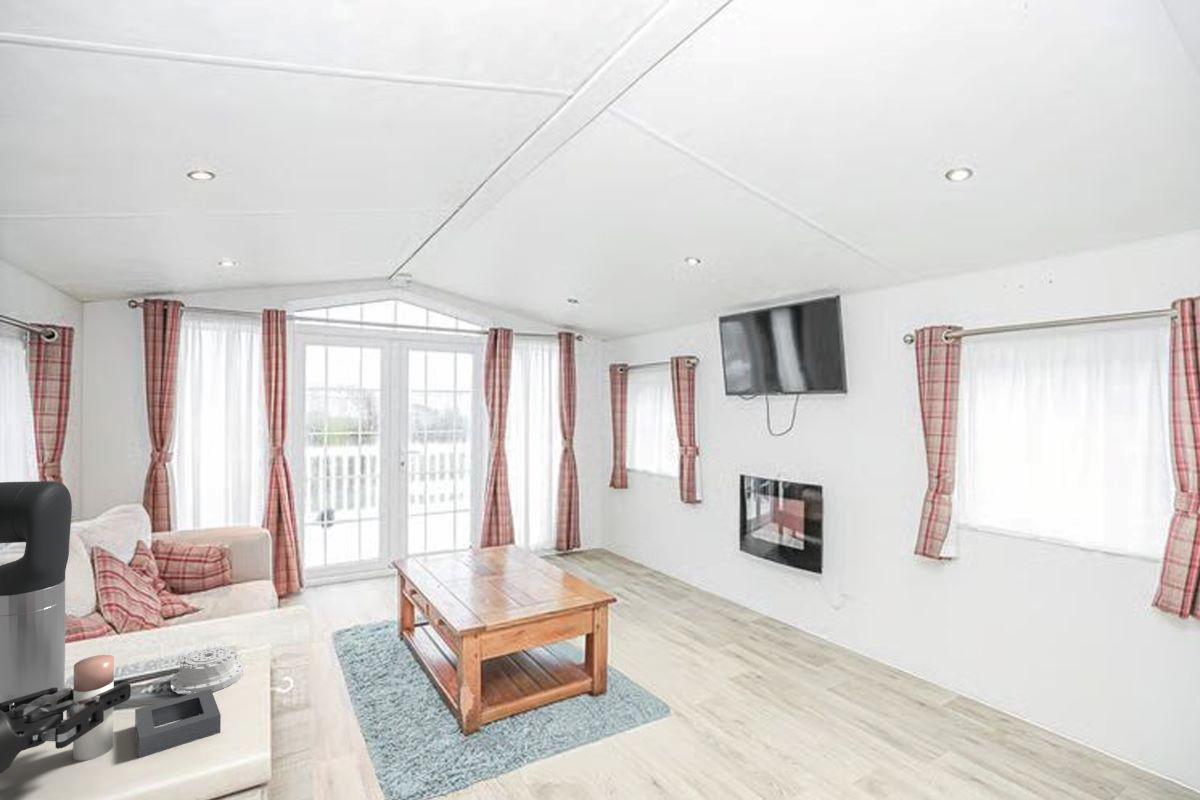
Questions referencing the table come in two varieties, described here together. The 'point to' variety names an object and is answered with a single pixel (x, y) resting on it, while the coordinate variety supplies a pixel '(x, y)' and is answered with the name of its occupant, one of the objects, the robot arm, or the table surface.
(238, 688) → the table surface
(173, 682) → the mechanical component
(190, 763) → the table surface
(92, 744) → the peg
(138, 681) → the table surface
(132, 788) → the table surface
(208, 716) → the socket
